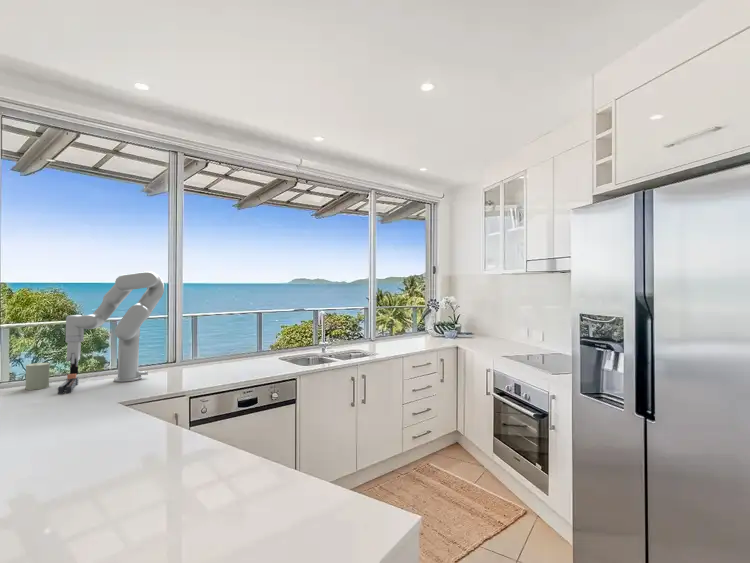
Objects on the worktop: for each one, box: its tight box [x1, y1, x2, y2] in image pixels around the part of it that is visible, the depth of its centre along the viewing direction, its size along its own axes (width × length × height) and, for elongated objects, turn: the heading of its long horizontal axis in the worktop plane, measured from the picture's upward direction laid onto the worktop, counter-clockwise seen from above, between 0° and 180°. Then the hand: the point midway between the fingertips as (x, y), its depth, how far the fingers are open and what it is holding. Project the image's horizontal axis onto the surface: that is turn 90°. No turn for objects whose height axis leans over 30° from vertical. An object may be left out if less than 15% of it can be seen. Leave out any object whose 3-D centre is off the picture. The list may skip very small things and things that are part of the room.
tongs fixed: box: [65, 376, 79, 394], centre depth 197 cm, size 23×5×3 cm, turn 30°
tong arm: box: [57, 380, 71, 395], centre depth 194 cm, size 18×2×3 cm, turn 27°
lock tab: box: [66, 373, 77, 379], centre depth 204 cm, size 2×3×2 cm
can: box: [24, 362, 51, 391], centre depth 200 cm, size 9×9×12 cm
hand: (74, 374), depth 210 cm, fingers closed
